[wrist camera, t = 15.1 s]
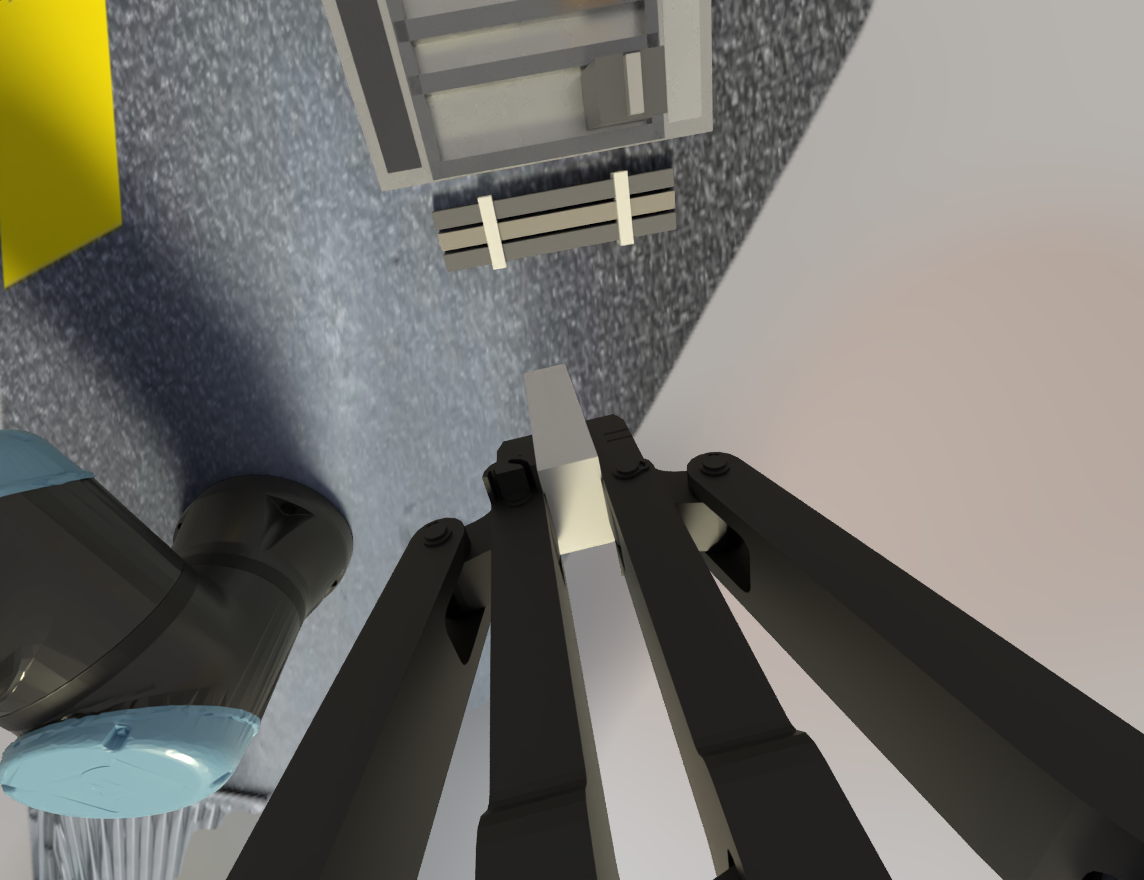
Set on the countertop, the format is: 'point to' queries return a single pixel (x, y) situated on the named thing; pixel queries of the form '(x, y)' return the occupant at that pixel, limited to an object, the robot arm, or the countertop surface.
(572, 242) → the strapped plank bundle
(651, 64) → the toggle
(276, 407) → the countertop surface
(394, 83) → the panel
